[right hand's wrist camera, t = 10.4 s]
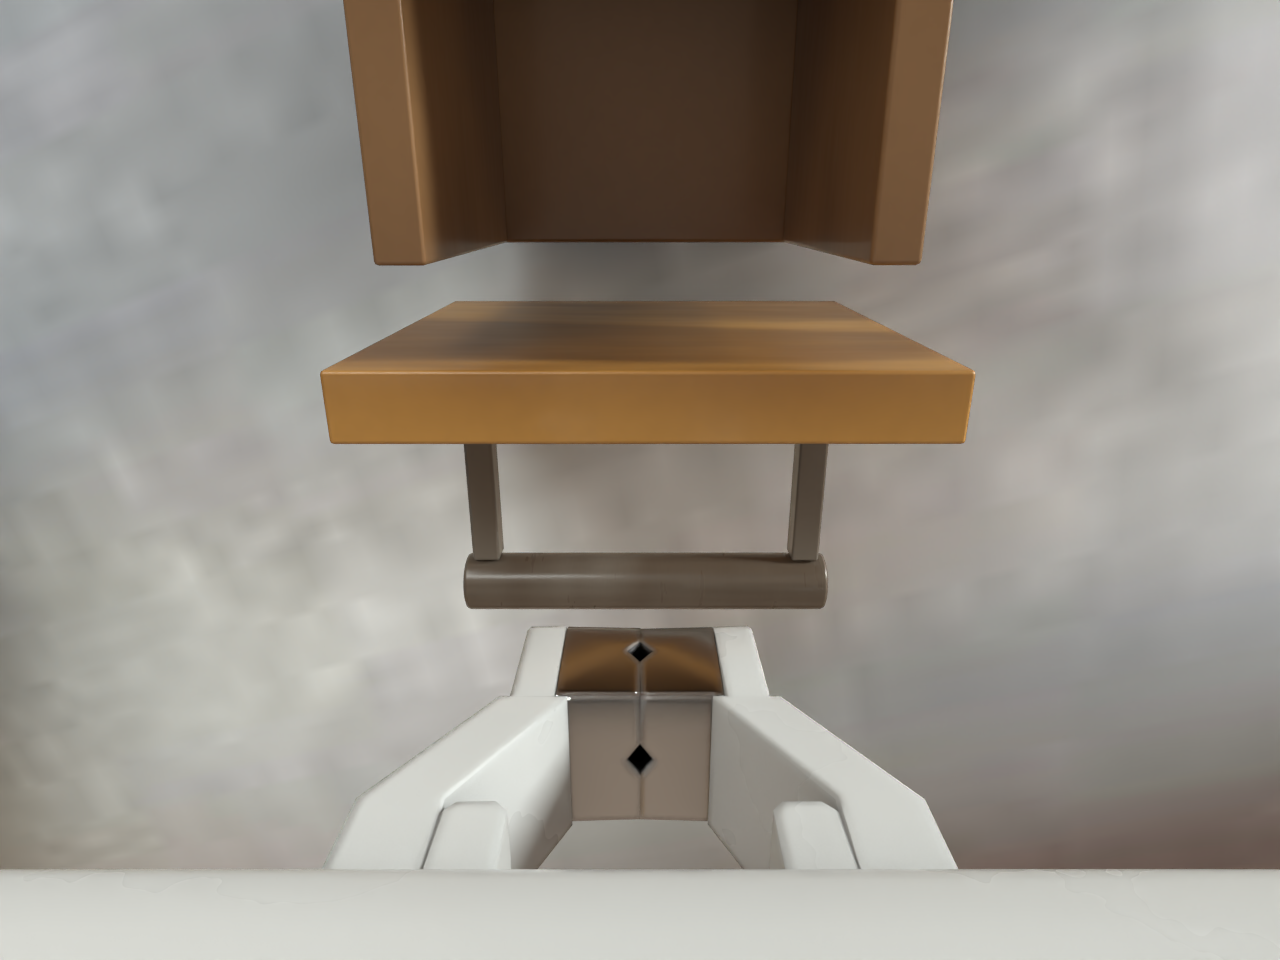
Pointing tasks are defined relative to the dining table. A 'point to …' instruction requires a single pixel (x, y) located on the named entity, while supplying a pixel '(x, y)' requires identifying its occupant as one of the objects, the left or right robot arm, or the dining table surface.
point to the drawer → (647, 212)
